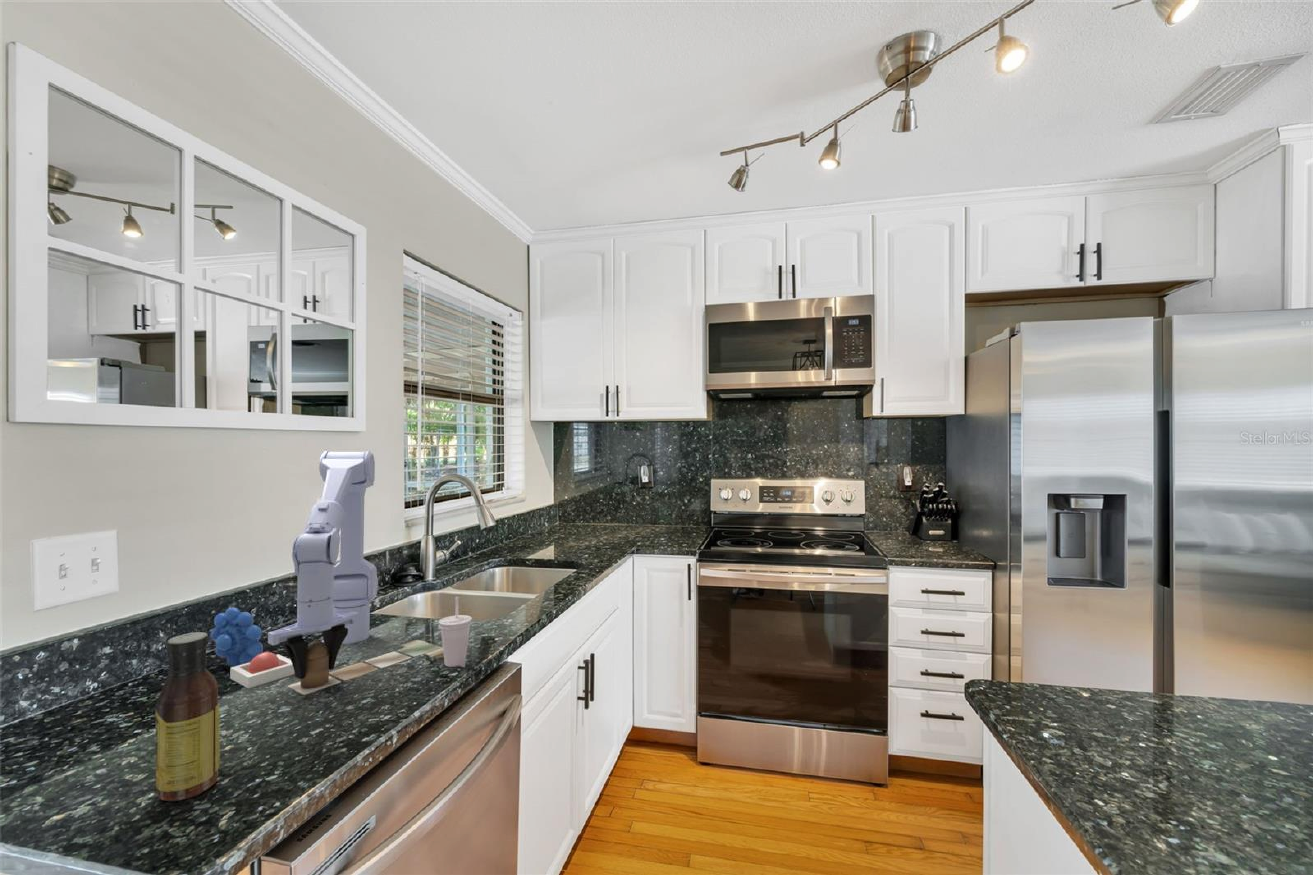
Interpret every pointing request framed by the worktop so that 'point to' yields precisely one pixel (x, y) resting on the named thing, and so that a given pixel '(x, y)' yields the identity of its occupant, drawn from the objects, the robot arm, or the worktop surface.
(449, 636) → the smoothie
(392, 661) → the game board
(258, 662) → the dome button
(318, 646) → the walnut pawn
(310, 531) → the robot arm
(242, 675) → the dome base
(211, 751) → the sauce bottle
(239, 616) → the grapes
